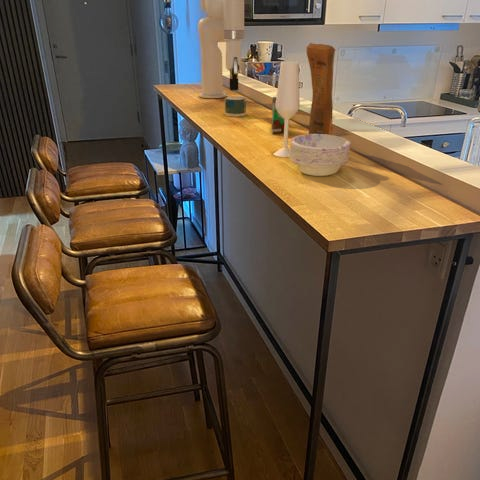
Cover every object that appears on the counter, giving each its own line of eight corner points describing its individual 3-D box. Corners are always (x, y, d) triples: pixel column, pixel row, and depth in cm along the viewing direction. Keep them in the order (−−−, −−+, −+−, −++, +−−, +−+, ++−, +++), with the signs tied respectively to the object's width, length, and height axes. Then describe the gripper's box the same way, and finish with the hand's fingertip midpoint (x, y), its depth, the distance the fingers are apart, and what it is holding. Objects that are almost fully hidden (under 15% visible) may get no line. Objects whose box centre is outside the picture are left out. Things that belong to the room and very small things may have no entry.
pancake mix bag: (314, 157, 143) (323, 46, 128) (299, 141, 159) (305, 41, 144) (336, 156, 144) (348, 46, 129) (319, 141, 160) (328, 41, 145)
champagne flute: (298, 152, 148) (304, 61, 135) (294, 158, 143) (300, 63, 130) (276, 150, 150) (280, 60, 137) (271, 156, 144) (274, 63, 131)
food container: (291, 135, 166) (293, 103, 161) (272, 135, 166) (273, 102, 161) (288, 127, 177) (290, 96, 171) (271, 127, 177) (272, 96, 171)
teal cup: (226, 100, 189) (226, 116, 192) (247, 99, 190) (247, 116, 193) (223, 96, 196) (224, 112, 199) (244, 96, 197) (243, 112, 200)
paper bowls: (333, 183, 123) (336, 150, 118) (278, 173, 130) (280, 142, 125) (355, 168, 134) (359, 137, 129) (304, 160, 140) (306, 130, 136)
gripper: (221, 34, 190) (222, 87, 200) (226, 37, 178) (226, 93, 188) (241, 34, 191) (240, 87, 201) (246, 37, 179) (246, 92, 188)
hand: (233, 89), depth 194 cm, fingers closed
